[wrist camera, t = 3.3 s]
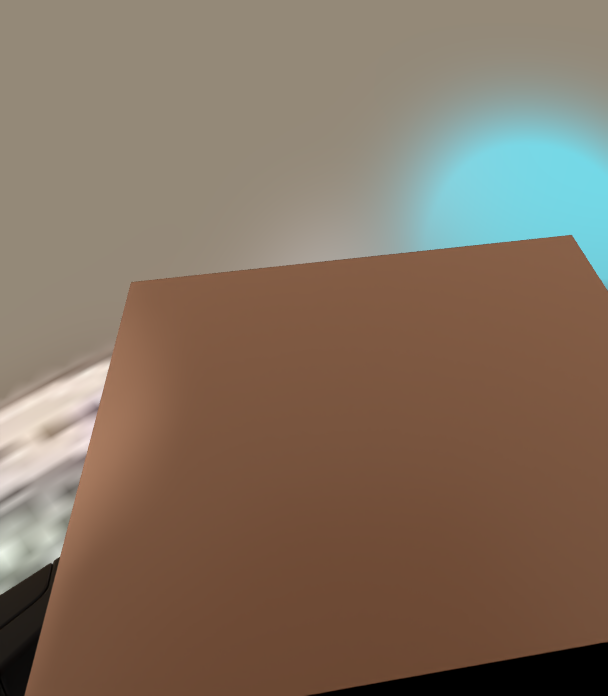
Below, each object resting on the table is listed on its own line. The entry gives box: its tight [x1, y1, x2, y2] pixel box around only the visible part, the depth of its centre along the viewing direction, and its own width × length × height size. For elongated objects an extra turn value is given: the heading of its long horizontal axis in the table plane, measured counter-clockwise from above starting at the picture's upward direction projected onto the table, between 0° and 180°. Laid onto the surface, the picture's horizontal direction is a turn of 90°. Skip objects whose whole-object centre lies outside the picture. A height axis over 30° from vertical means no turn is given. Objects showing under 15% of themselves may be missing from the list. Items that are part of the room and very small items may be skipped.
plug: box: [25, 235, 608, 696], centre depth 8 cm, size 4×4×13 cm
